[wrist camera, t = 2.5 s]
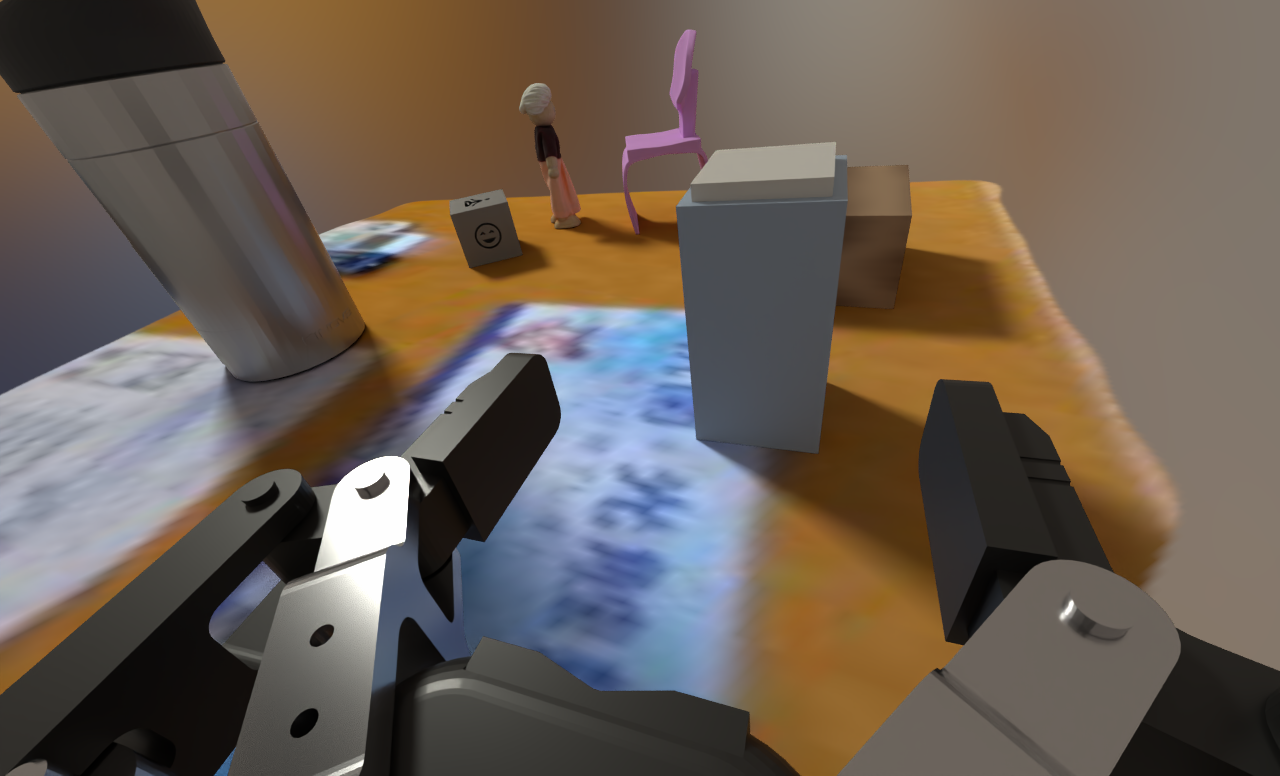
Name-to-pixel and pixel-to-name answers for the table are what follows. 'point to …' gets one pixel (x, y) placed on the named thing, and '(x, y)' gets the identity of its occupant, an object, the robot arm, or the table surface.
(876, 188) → the walnut block
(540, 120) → the grandmother figurine
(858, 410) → the table surface
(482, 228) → the dice cube
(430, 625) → the robot arm
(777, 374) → the slate-blue canister
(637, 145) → the toy chair
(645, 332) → the table surface
